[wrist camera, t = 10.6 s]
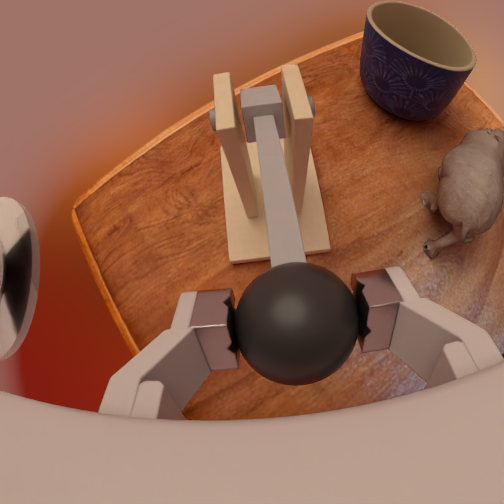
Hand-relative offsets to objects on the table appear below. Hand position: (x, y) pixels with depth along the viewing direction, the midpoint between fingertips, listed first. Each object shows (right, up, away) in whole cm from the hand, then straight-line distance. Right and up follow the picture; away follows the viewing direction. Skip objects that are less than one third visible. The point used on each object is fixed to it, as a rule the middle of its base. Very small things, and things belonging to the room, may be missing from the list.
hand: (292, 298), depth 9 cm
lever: (0, +3, +5) cm, 6 cm away
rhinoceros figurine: (+21, +7, +18) cm, 29 cm away
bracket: (+1, +7, +20) cm, 21 cm away
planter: (+17, +21, +22) cm, 35 cm away
